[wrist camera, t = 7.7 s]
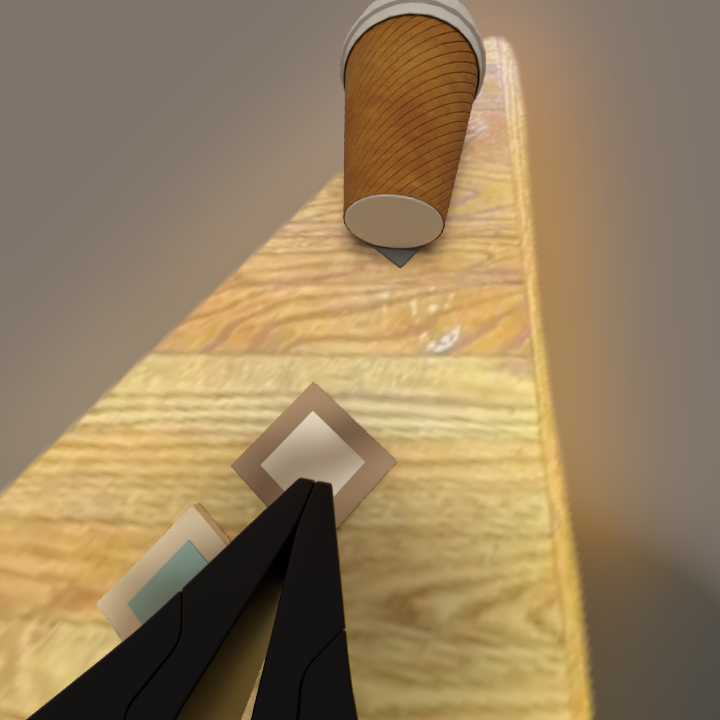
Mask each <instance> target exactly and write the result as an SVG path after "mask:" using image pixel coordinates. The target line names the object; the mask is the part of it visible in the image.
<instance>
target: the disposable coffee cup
mask: <svg viewBox="0 0 720 720" xmlns="http://www.w3.org/2000/svg"><path fill="white" fill-rule="evenodd" d="M340 62H341V63H340V75H341V80H342V84H343V88H344V92H345V133H344V138H345V141H344V215H343V218H344V224H345V225H346V227H347V229H348V230H349V231H350V232H351V233H352V234H354V235H355V236H356V237H358V238H360V239H362V240H363V241H366V242H368V243H371V244H374V245H378V246H382V247H388V248H411V247H417V246H422V245H424V244H427V243H430V242H432V241H433V240H435V239H436V238H438V237H439V236H440V235H441V233H442V232H443V229H444V226H445V220H446V216H447V212H448V208H449V203H450V199H451V195H452V190H453V187H454V181H455V178H456V173H457V170H458V164H459V161H460V155H461V152H462V147H463V144H464V141H463V140H464V138H465V135H466V130H467V126H468V121H469V118H470V113H471V109H472V104H473V102H474V101H475V99H476V97H477V96H478V94H479V92H480V89H481V87H482V84H483V80H484V76H485V71H486V51H485V47H484V44H483V40H482V37H481V35H480V33H479V31H478V29H477V27H476V26H475V24H474V21H473V19H472V17H471V15H470V14H469V13H468V11H467V9H466V8H465V7H464V6H463V5H462V4H461V3H460V2H459V1H458V0H376V1H375V2H373V3H372V4H371V5H370V6H369V7H368V8H367V9H366V10H365V12H364V13H363V14H362V16H361V17H360V18H359V19H358V20H357V22H356V23H355V24H354V26H353V27H352V28H351V30H350V32H349V34H348V36H347V38H346V39H345V43H344V46H343V49H342V52H341V61H340Z"/></svg>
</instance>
